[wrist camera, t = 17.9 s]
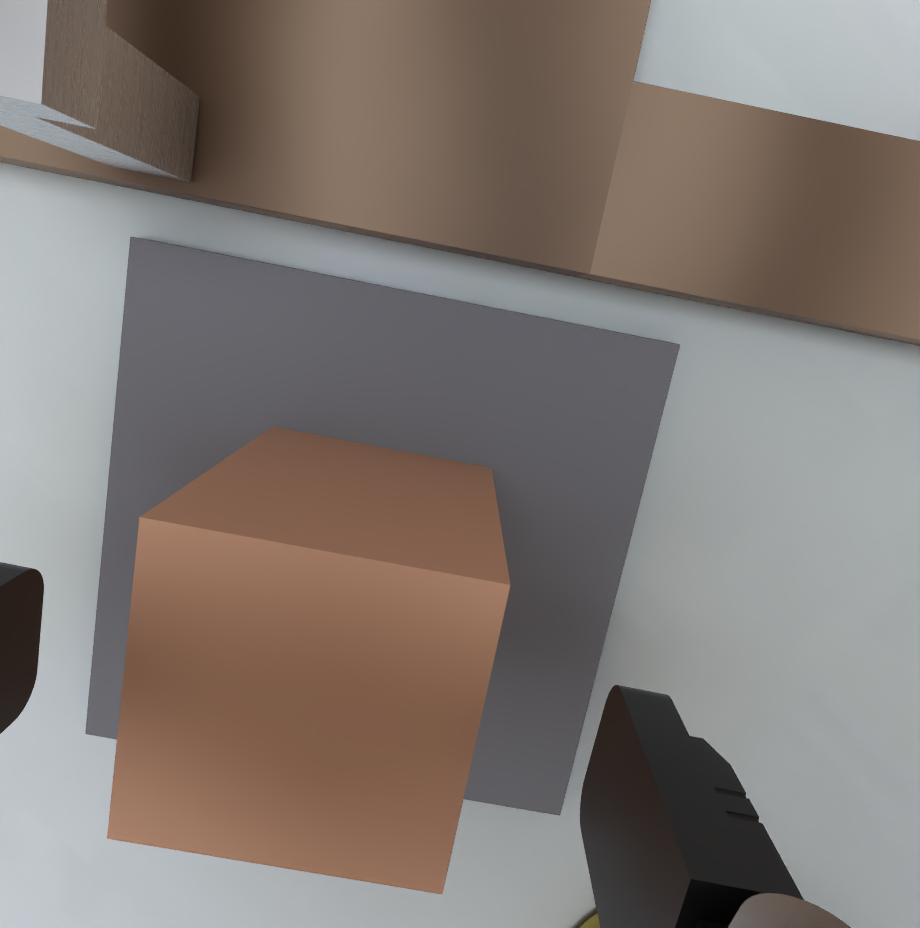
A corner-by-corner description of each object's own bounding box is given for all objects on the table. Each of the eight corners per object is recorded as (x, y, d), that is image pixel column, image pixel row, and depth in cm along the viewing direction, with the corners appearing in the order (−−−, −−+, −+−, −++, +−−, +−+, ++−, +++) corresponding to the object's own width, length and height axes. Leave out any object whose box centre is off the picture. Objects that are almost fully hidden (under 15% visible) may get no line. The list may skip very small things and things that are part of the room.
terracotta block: (491, 467, 17) (510, 585, 10) (450, 666, 18) (441, 894, 11) (272, 426, 17) (139, 516, 10) (244, 629, 18) (106, 838, 11)
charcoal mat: (673, 343, 17) (680, 344, 16) (557, 802, 19) (559, 815, 19) (140, 238, 16) (130, 236, 16) (94, 722, 19) (85, 733, 18)
